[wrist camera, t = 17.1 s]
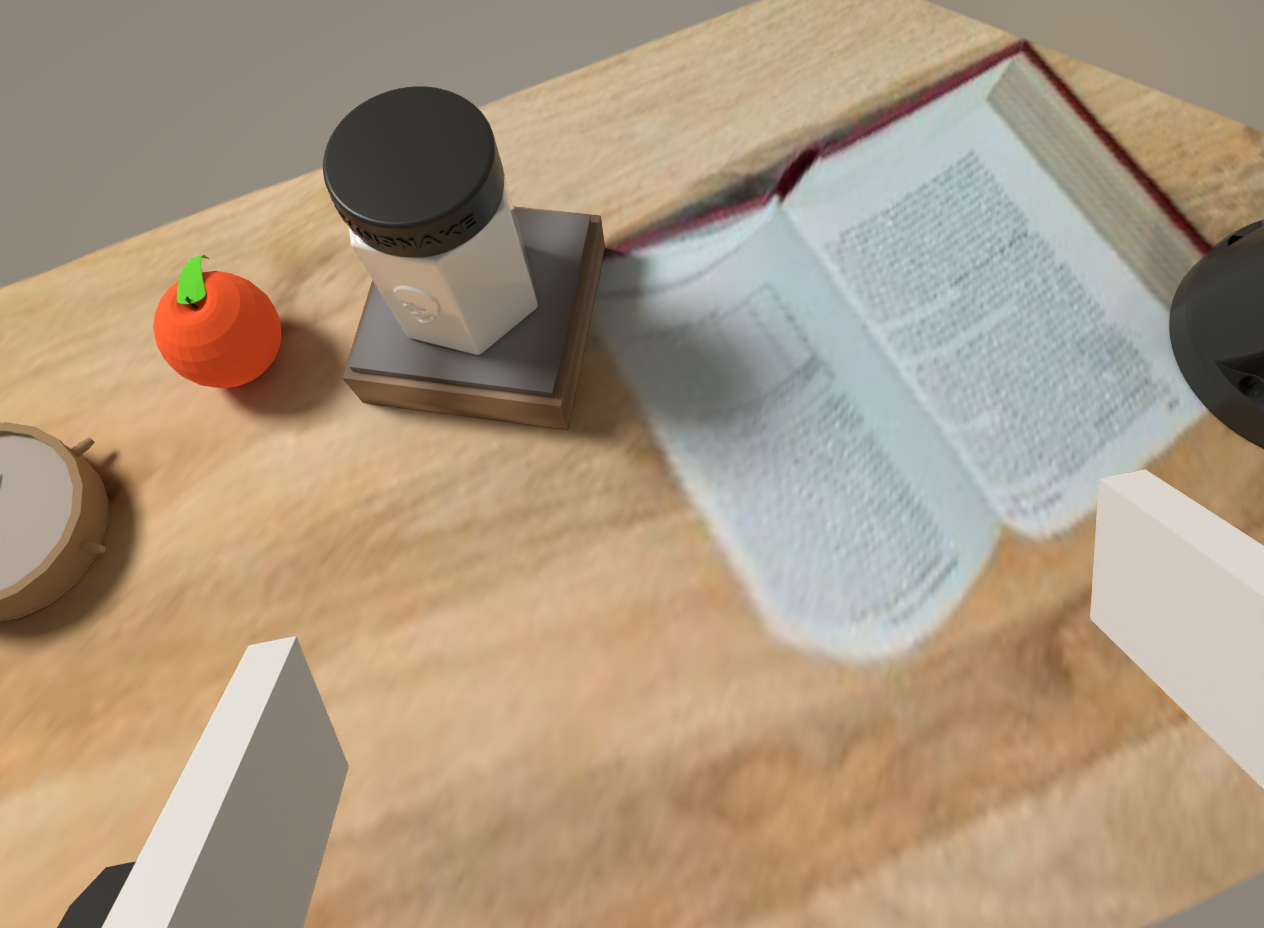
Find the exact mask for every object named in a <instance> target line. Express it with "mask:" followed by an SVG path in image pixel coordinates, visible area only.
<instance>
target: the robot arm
mask: <svg viewBox="0 0 1264 928" xmlns="http://www.w3.org/2000/svg"><path fill="white" fill-rule="evenodd" d="M1169 329H1170V339H1171V344H1172V349H1173V352H1174V356H1175V358H1176V361H1177V364H1178V366H1179V368H1180V370H1181V372H1182V374H1183V376H1184V378H1185V380H1186V381H1187V383H1188V385H1189V386H1190V388H1191V389H1192V391H1193V392H1194V393H1195V395H1196V396H1197V397H1198V398H1199V400H1200V401H1201V402H1202V403H1203V404H1204V405H1205V406H1206V407H1207V408H1208V409H1209V411H1211V412H1212V413H1213V414H1214V415H1215V416H1216V417H1217V418H1218V419H1219V420H1221V421H1222V422H1223V423H1224V424H1225V425H1227V426H1228V427H1229V428H1231V429H1232V430H1234V431H1235V432H1237V433H1238V434H1240V435H1241V436H1243V437H1244V438H1246V439H1248V440H1250V441H1252V442H1253V443H1255V444H1257V445H1260V446H1262V447H1264V219H1263V220H1261V221H1258V222H1255V223H1252V224H1250V225H1248V226H1246V227H1243V228H1241V229H1239V230H1237V231H1235V232H1234V233H1232V234H1230V235H1229V236H1227V237H1226V238H1224V239H1223V240H1221V241H1220V242H1219V243H1217V244H1216V245H1215V246H1214V247H1213V248H1212V249H1211V250H1209V252H1208V253H1207V254H1206V255H1205V256H1204V257H1203V258H1202V259H1201V260H1200V261H1199V262H1198V263H1197V264H1196V265H1195V266H1194V267H1193V268H1192V269H1191V270H1190V271H1189V272H1188V273H1187V275H1186V276H1185V277H1184V279H1183V280H1182V282H1181V283H1180V285H1179V287H1178V289H1177V291H1176V293H1175V296H1174V299H1173V302H1172V306H1171V311H1170V321H1169ZM1090 619H1091V620H1092V621H1093V622H1094V623H1095V624H1096V625H1097V626H1098V627H1099V628H1100V629H1101V630H1102V631H1103V632H1104V633H1105V634H1106V635H1107V636H1108V637H1109V638H1110V639H1111V640H1112V641H1113V642H1114V643H1115V644H1117V645H1118V646H1119V647H1120V648H1121V649H1122V650H1123V651H1124V652H1125V653H1126V654H1127V655H1128V656H1129V657H1130V658H1131V659H1132V660H1133V661H1134V662H1135V663H1136V664H1137V665H1138V666H1139V667H1140V668H1141V669H1142V670H1143V671H1144V672H1145V673H1146V674H1147V675H1148V676H1149V677H1150V678H1151V679H1152V680H1153V681H1154V682H1155V683H1156V684H1157V685H1158V686H1159V687H1160V688H1161V689H1162V690H1163V691H1164V692H1165V693H1166V694H1167V695H1168V696H1169V697H1170V698H1171V699H1172V700H1173V701H1175V702H1176V703H1177V704H1178V705H1179V706H1180V707H1181V708H1182V709H1183V710H1184V711H1185V712H1186V713H1187V714H1188V715H1189V716H1190V717H1191V718H1192V719H1193V720H1194V721H1195V722H1196V723H1197V724H1198V725H1199V726H1200V727H1201V728H1202V729H1203V730H1204V731H1205V732H1206V733H1207V734H1208V735H1209V736H1210V737H1211V738H1212V739H1213V740H1214V741H1215V742H1216V743H1217V744H1218V745H1219V746H1220V747H1221V748H1222V749H1223V750H1224V751H1225V752H1226V753H1227V754H1228V755H1229V756H1230V757H1231V758H1233V759H1234V760H1235V761H1236V762H1237V763H1238V764H1239V765H1240V766H1241V767H1242V768H1243V769H1244V770H1245V771H1246V772H1247V773H1248V774H1249V775H1250V776H1251V777H1252V778H1253V779H1254V780H1255V781H1256V782H1257V783H1258V784H1259V785H1260V786H1261V787H1262V788H1263V789H1264V546H1263V545H1261V544H1260V543H1258V542H1257V541H1255V540H1254V539H1252V538H1251V537H1249V536H1248V535H1246V534H1244V533H1243V532H1241V531H1240V530H1238V529H1237V528H1235V527H1234V526H1232V525H1230V524H1229V523H1227V522H1226V521H1224V520H1223V519H1221V518H1220V517H1218V516H1217V515H1215V514H1213V513H1212V512H1210V511H1209V510H1207V509H1206V508H1204V507H1203V506H1201V505H1199V504H1198V503H1196V502H1195V501H1193V500H1192V499H1190V498H1189V497H1187V496H1186V495H1184V494H1182V493H1181V492H1179V491H1178V490H1176V489H1175V488H1173V487H1172V486H1170V485H1168V484H1167V483H1165V482H1164V481H1162V480H1161V479H1159V478H1158V477H1156V476H1155V475H1153V474H1151V473H1150V472H1148V471H1147V470H1140V471H1135V472H1130V473H1125V474H1120V475H1115V476H1109V477H1104V478H1099V489H1098V504H1097V520H1096V536H1095V552H1094V567H1093V583H1092V599H1091V615H1090ZM348 767H349V766H348V763H347V761H346V758H345V756H344V753H343V751H342V748H341V746H340V743H339V741H338V738H337V736H336V733H335V731H334V728H333V726H332V723H331V721H330V719H329V716H328V714H327V711H326V709H325V706H324V704H323V701H322V699H321V696H320V694H319V691H318V689H317V686H316V684H315V681H314V679H313V676H312V674H311V671H310V669H309V666H308V664H307V661H306V659H305V656H304V654H303V651H302V649H301V646H300V644H299V642H298V639H297V637H296V636H295V637H289V638H284V639H279V640H274V641H269V642H264V643H259V644H254V645H249V646H248V648H247V650H246V652H245V654H244V656H243V657H242V659H241V661H240V663H239V665H238V667H237V669H236V671H235V673H234V675H233V677H232V679H231V680H230V682H229V684H228V686H227V688H226V690H225V692H224V694H223V696H222V698H221V700H220V702H219V703H218V705H217V707H216V709H215V711H214V713H213V715H212V717H211V719H210V721H209V723H208V725H207V727H206V728H205V730H204V732H203V734H202V736H201V738H200V740H199V742H198V744H197V746H196V748H195V750H194V751H193V753H192V755H191V757H190V759H189V761H188V763H187V765H186V767H185V769H184V771H183V773H182V775H181V776H180V778H179V780H178V782H177V784H176V786H175V788H174V790H173V792H172V794H171V796H170V798H169V799H168V801H167V803H166V805H165V807H164V809H163V811H162V813H161V815H160V817H159V819H158V821H157V823H156V824H155V826H154V828H153V830H152V832H151V834H150V836H149V838H148V840H147V842H146V844H145V846H144V847H143V849H142V851H141V853H140V855H139V857H138V859H137V861H136V862H131V863H126V864H121V865H116V866H111V867H106V868H105V869H104V870H103V871H102V872H101V873H100V874H99V875H98V877H97V878H96V879H95V880H94V881H93V882H92V883H91V884H90V885H89V886H88V887H87V888H86V889H85V890H84V891H83V892H82V893H81V895H80V896H79V897H78V898H77V899H76V900H75V901H74V902H73V903H72V904H71V905H70V906H69V908H68V910H67V912H66V913H65V915H64V917H63V919H62V920H61V922H60V924H59V926H58V927H57V928H303V926H304V923H305V919H306V915H307V912H308V908H309V905H310V901H311V898H312V894H313V891H314V887H315V884H316V880H317V877H318V873H319V870H320V866H321V863H322V859H323V855H324V852H325V848H326V845H327V841H328V838H329V834H330V831H331V827H332V824H333V820H334V817H335V813H336V810H337V806H338V802H339V799H340V795H341V792H342V788H343V785H344V781H345V778H346V774H347V771H348Z"/></svg>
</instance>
